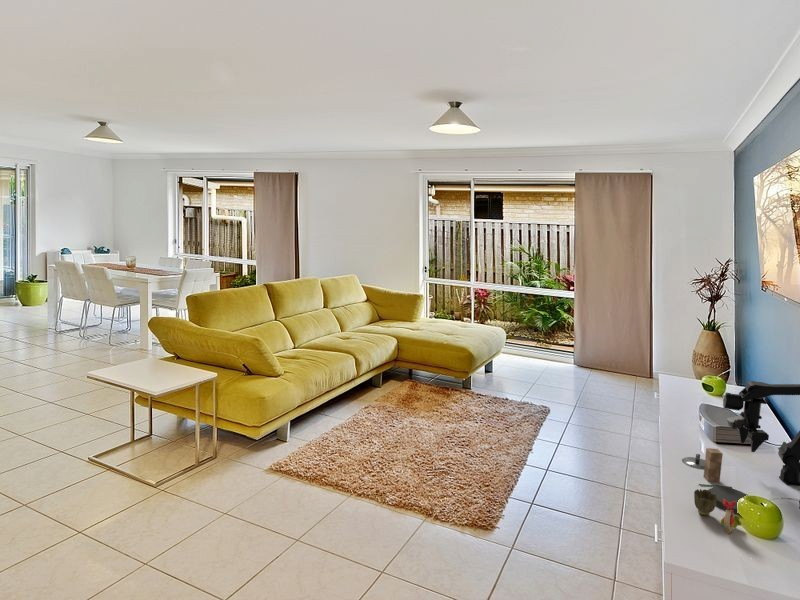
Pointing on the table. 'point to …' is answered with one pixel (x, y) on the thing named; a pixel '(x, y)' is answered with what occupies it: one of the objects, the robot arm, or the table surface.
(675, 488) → the table surface
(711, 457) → the walnut block
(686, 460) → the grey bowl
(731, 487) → the rubber mat
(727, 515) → the bird rattle
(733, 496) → the media streaming box
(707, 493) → the cup
